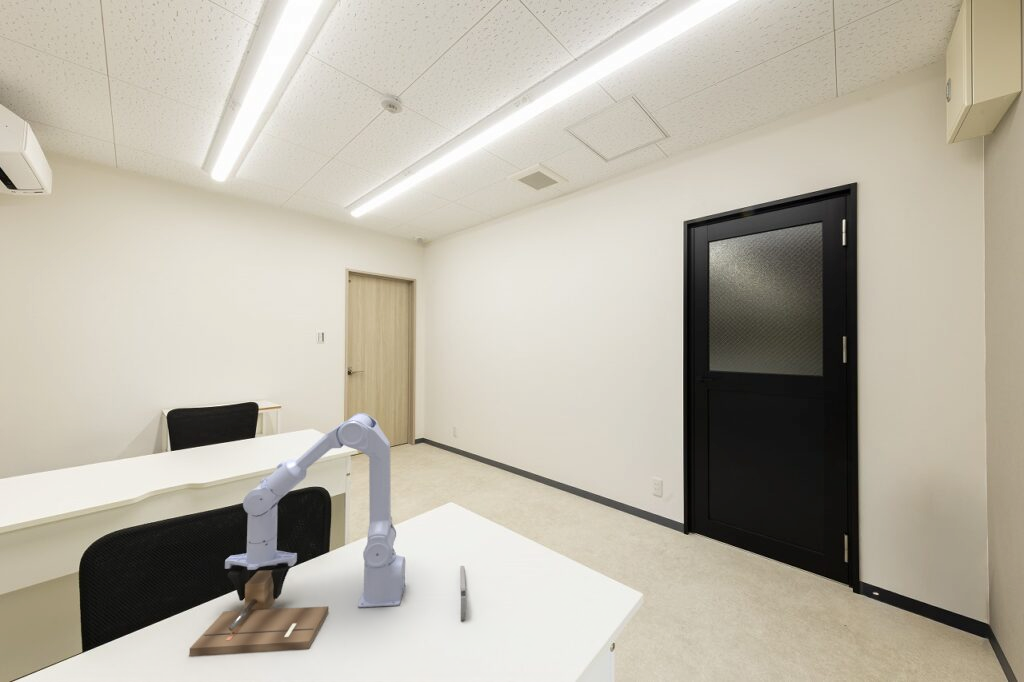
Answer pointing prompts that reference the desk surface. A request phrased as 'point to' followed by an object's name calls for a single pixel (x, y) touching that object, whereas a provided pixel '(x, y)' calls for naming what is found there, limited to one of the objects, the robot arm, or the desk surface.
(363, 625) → the desk surface
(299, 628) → the walnut board
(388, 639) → the desk surface
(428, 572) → the desk surface
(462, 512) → the desk surface
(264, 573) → the marking gauge
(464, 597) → the caliper
